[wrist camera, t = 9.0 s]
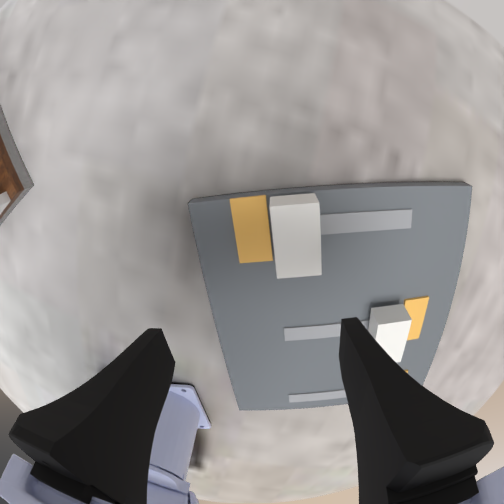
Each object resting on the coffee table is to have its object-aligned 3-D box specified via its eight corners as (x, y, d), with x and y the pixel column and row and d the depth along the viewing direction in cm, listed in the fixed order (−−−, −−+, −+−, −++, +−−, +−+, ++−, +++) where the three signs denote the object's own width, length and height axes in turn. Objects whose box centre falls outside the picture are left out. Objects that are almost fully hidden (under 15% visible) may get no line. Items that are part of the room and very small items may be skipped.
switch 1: (276, 262, 17) (276, 278, 16) (270, 196, 16) (269, 206, 14) (317, 259, 17) (321, 275, 15) (314, 193, 15) (319, 202, 14)
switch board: (240, 402, 26) (239, 411, 25) (192, 198, 18) (186, 204, 16) (417, 383, 24) (420, 391, 23) (464, 182, 15) (473, 186, 14)
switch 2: (364, 349, 20) (370, 366, 18) (371, 307, 18) (378, 324, 17) (394, 345, 20) (400, 361, 18) (403, 303, 18) (411, 319, 16)
